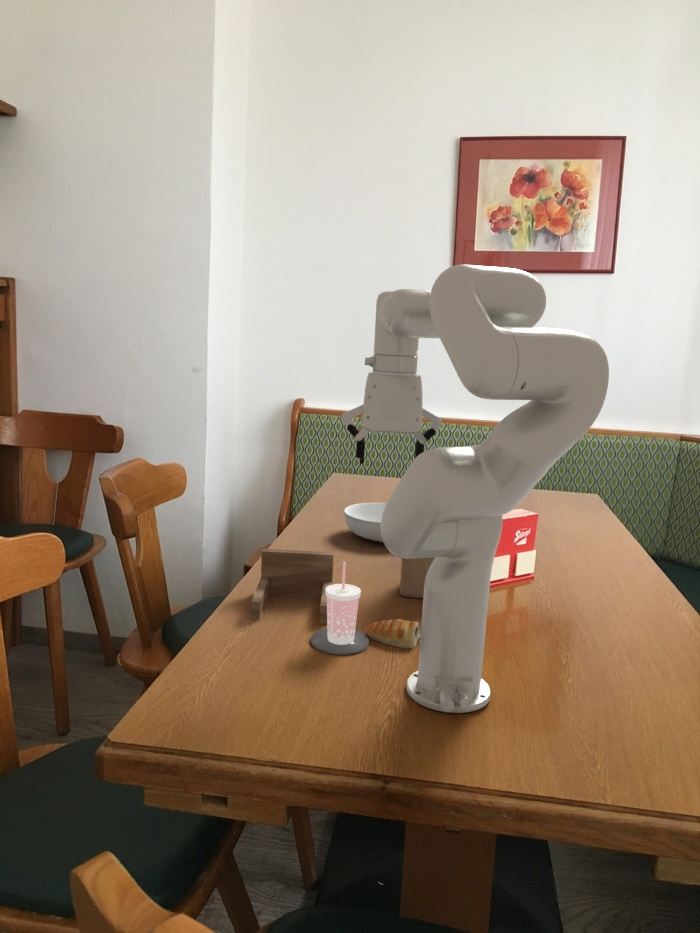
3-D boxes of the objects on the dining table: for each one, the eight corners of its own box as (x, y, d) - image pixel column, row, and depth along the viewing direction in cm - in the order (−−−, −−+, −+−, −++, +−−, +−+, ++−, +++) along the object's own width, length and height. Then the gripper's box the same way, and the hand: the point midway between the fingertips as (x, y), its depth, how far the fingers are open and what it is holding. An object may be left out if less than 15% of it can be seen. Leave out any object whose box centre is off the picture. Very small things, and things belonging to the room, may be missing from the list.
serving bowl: (427, 552, 183) (429, 524, 182) (341, 547, 183) (342, 520, 182) (421, 528, 204) (422, 504, 202) (343, 524, 204) (345, 500, 202)
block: (448, 603, 150) (455, 506, 146) (398, 597, 152) (404, 501, 148) (451, 586, 160) (458, 495, 156) (405, 581, 162) (411, 490, 158)
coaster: (368, 656, 125) (368, 653, 125) (308, 653, 125) (308, 649, 125) (368, 631, 135) (368, 628, 135) (312, 628, 135) (313, 625, 135)
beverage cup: (365, 639, 130) (370, 562, 127) (341, 650, 125) (345, 570, 123) (339, 628, 134) (343, 553, 131) (315, 638, 129) (318, 561, 127)
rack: (328, 624, 137) (330, 577, 135) (250, 619, 137) (251, 573, 136) (331, 595, 152) (333, 552, 150) (261, 591, 152) (262, 548, 150)
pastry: (361, 643, 130) (362, 622, 130) (370, 628, 137) (371, 608, 136) (415, 651, 128) (416, 630, 128) (421, 636, 135) (422, 616, 134)
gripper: (343, 364, 125) (339, 465, 128) (447, 369, 125) (440, 470, 128) (345, 361, 132) (340, 457, 135) (443, 366, 132) (436, 462, 135)
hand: (389, 463), depth 132 cm, fingers open, 9 cm apart
